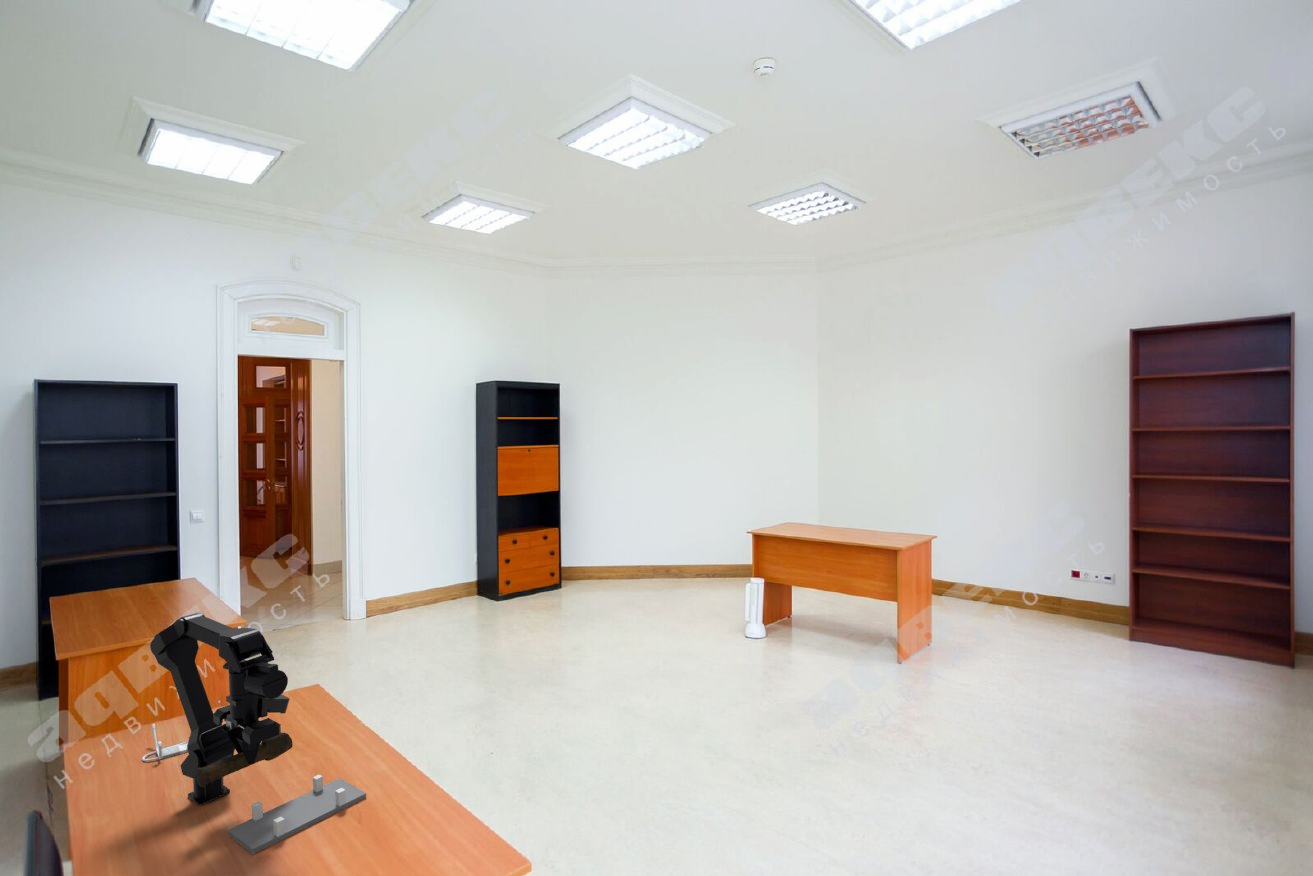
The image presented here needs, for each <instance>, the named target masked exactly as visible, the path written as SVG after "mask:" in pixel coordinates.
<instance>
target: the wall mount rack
mask: <svg viewBox="0 0 1313 876" xmlns="http://www.w3.org/2000/svg"><path fill="white" fill-rule="evenodd" d="M156 728H157V727H156V723H152V724H151V730H152V733H153V741H154V746H155V751H151V752H149V753H147V754H144V755H143V756H142V757H141V760H142V761H143V762H153V761H157V760H161V759H167V758H171V757H174V755H175V756H179V755H181V754H185V753H188V749H187V745H188V741H184V742H181V743H177V744H174V745H171V746H168V747H164V748H162V741H158V737H157V731H156ZM155 754H157V757H152V758H147V757H149V756H151V755H155Z"/></svg>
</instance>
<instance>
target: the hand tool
mask: <svg viewBox="0 0 1313 876" xmlns="http://www.w3.org/2000/svg"><path fill="white" fill-rule="evenodd" d="M292 748H293V740H292V738H291V736H290V734H289V733H287V732H281V733H280V735H277V736H274V737H272V738H269V739H267V740H264V741H261V743H260V746H259V750H258V753H257V756H256V760H255V762H254V763H252V764H249V763H248V761H247V759H246V757H245V755H244V753H243V752H241V753H236V754H234V755H233V756H231V757H229V758H226V759H222V760H220V761H218V762H216V763H212V764H210V765H208V766H205V767H202V768H197V769H196V780H197V782H198V785H200V786H201V787H205V786H206V785H207V784H209V783H210V784H212V783H213V782H214V781H215V780H217V779H220V778H222V777H223V778H224V777H227V776H229V775H231V774H233V773H235V772H238V771H241V770H242V769H246V768H248V767H250V766H253V765H254V764H257V763H259V762H262V761H267V762H270V761H272V760H274V759H276V758H278V757H279V756H281V755H283V754H285V753H287V752H288V751H289V750H292Z"/></svg>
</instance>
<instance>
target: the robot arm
mask: <svg viewBox="0 0 1313 876" xmlns="http://www.w3.org/2000/svg"><path fill="white" fill-rule="evenodd" d="M198 642H201V643H203V644H206V645H207V646H208V645H209V646H211V647H213V648H215V649H216V650H217V651H218V657H220V658H222V659H223V660H224V661H225V662H226V663H224V664H223V665H222V669H224V670H228V686H229V687H228V689H229V695H227V696H225V701H226V702H227V703H228V705H225V706H223V707H222V706H221V707H218V708H217V709H216V710H214V711H213V707H212V705H211V702H210V701H209V698H208V697H209V696H208V694H207V691H206V688H205V686H204V682H203V681H202V677H201V675H200V672H199V668H198V666H197V663H196V658H197V655H198V652H199V649H200V648H199V643H198ZM149 646H150V651H151V653H152V655H154V657H155V659H156V662H157V664H158V665H159V666H161V667H163V668H165V670H167V671H169V672H170V675H171V676H172V677H171V678H172V680H173V683H174V686H175V689H176V692H177V696H178V698H179V700H180V703H181V705H182V708H183V709H182V710H183V712H184V715H185V717H186V720H187V723H188V726H189V729H190V734H189V738H188V741H187V742H188V745H187V749H188V752H187V753H188V755H187V756H186V757H185V759H184V760H183V761H182V763H181V764H180V770H181V774H182V775H183V776H185V777H188V778H191V779H192V783H193V787H192V788H193V789H192V790H193V791H191V792H189V793H187V798H189V799H190V800H191V801H192V802H194V803H195V804H196V805H197V806H201V805H204V804H206V803H208V802H210V801H212V800H215V799H218V798H220V797H222V796H225V795H228V794H229V793H230V792H231V790H230V789H229V788H228V787H227V786H226V785H224V784H225V783H224V777H222V778H220V779H217V780H215V781H214V782H213V783H212V784H210V783H209V784H207V785H206V786H205V787H201V786H200V785H198V782H197V780H196V769H197V768H202V767H205V766H208V765H210V764H212V763H216V762H218V761H220V760H222V759H226V758H229V757H231V756H233V755H235V751H236V754H238V753H241V752H243V753H244V755H245V757H246V759H247V761H248V763H249V764H252V763H254V762H255V760H256V756H257V753H258V750H259V746H260V744H261V742H262V741H264V740H267V739H269V738H272V737H274V736H277V735H280V733H282V729H281V728H282V727H281V726H282V725H281V723H279V722H277V721H276V720H273V719H272V718H269V717H267V716H268V715H269V714H268V713H273V714H274V713H280V714H281V715H283V714H286V713H287V709H288V705H289V702H290V700H291V699H290V697H288V696H286V695H284V694H283V693H284V692H285V691H286V689H287V687H288V681H289V678H288V676H287V674H286V672H284V671H283V670H280V669H279V665H278V664H277V663H270V662H273V661H275V656H274V655H273V652H274V651H273V650H272V648H271V647H270V645H269V644H268V643H267V640H266V637H264V635H263V634H262V632H261V631H260V630H258V629H256V628H251V627H238V628H233V627H232V626H228V625H226V624H224V623H221V622H219V621H216V620H215V619H212V618H209V617H206V616H205V614H204V613H202V612H196V613H191V614H188V615H184V616H181V617H179V618H178V619H176V620H175V621H174V622H173V623H172V624H171V625H169V626H167V627H166V628H164V629H163V630H161V631H159V632H158V633H156V634H155V635H154V637H153V638H152V640H151V641H150V645H149ZM258 655H259V656H258ZM252 657H253V658H252ZM247 659H248V660H247ZM265 717H267V718H265ZM260 718H262V719H261V720H260ZM263 718H264V719H263ZM224 722H225V723H224ZM223 723H224V724H223ZM252 765H253V764H252Z"/></svg>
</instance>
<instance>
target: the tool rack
mask: <svg viewBox="0 0 1313 876" xmlns="http://www.w3.org/2000/svg"><path fill="white" fill-rule="evenodd" d="M366 798H367V793H366V792H365V791H363V790H361V789H359V788H358V787H357V786H354V785H352V784H351V783H349V782H347V781H346V780H344V779H342V778H341V777H339V778H337V779H334V780H333V781H331V782H328V783H326V784H324V776H323V775H321V774H317V775H315V776H313V777H312V790H311V791H309V792H306V793H304V794H302V795H300V796H298V797H295V798H293V799H292V800H289V801H288V802H284V803H283V804H280V805H278V806H276V807H274V808H272V809H270V810H268V811H265V812H264V809H263V802H261V801H260V800H259V801H257V802H254V803H252V804H251V818H250V819H248V820H246V821H244V822H241V823H239V824H237V825H234V826H233V827H230V828H229V829H227V835H228V836H229V837H230V838H232V839H233V840H234V841H235V842H237V843H238V844H239V845H241V846H242V847H243V849H245V850H247V851H248V852H249V853H250V854H251V855H255V854H257V853H258V852H260V851H263V850H265V849H267V848H268V847H270V846H272V845H274V844H276V843H279V842H280V841H282V840H284V839H286V838H288V837H291V836H292V835H295V834H297V833H299V832H300V831H302V830H304V829H306V828H309V827H310V826H312V825H315V824H317V823H318V822H321V821H322V820H324V819H326V818H328V817H330V816H332V815H334V814H336V813H338V812H341V811H343V810H344V809H346V808H348V807H350V806H353V805H354V804H356V803H358V802H360V801H362V800H364V799H366Z"/></svg>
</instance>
